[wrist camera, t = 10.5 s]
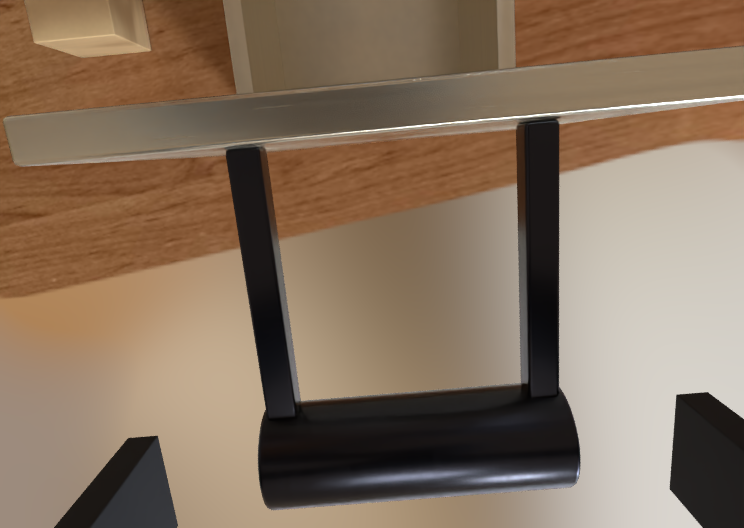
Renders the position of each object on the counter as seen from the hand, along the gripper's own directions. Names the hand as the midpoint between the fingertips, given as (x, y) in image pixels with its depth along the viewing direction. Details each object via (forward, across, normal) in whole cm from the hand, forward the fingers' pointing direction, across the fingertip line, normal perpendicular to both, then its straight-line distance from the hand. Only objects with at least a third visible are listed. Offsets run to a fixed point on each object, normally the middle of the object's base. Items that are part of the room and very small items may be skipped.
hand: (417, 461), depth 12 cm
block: (+22, -16, +17) cm, 32 cm away
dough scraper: (+5, 0, +9) cm, 10 cm away
